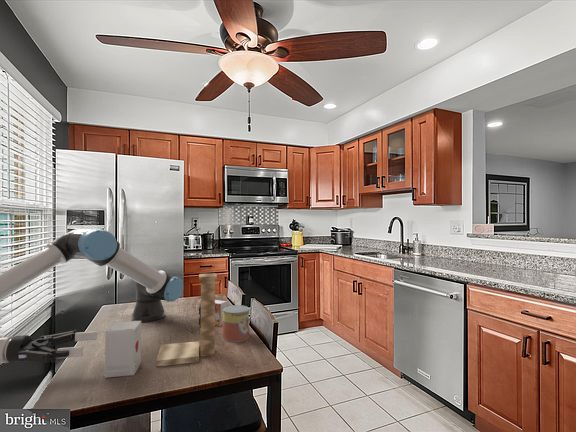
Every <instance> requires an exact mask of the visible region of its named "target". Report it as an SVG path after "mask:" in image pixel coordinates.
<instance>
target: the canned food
mask: <svg viewBox="0 0 576 432" xmlns="http://www.w3.org/2000/svg"><path fill="white" fill-rule="evenodd" d="M222 311H223V325H222V332H221V333H222V337H221V338H222V340H223V341H225V342H227V343H228V342H229V343H239V342H243V341H246V340H248V339H249V337H250V335H249V333H250V332H249V331H250V325H249V324H250V307H248V306H247V305H240V304H237V305H233V304H232V305H227V307H224V308H223V309H222Z"/></svg>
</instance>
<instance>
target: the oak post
mask: <svg viewBox="0 0 576 432" xmlns="http://www.w3.org/2000/svg"><path fill="white" fill-rule="evenodd" d="M198 280H199V281H200V304H199V307H198V315H199V317H198V326H199V329H200V353H199V357H208V356H215V353H216V352H215V350H216V349H215V347H216V344H215V341H216V340H215V337H216V336H215V335H216V333H215V332H216V329H215V328H216V327H215V326H216V325H215V300H216V280H218V274H217V273H215V272H213V273H212V272H211V273H199V274H198Z"/></svg>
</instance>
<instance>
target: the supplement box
mask: <svg viewBox="0 0 576 432" xmlns="http://www.w3.org/2000/svg"><path fill="white" fill-rule="evenodd" d="M104 335H105V338H104V340H105V343H104V345H105V346H104V347H105V348H104V378H114V377H115V378H118V377H129V376H135V374H136V372H137V371H138V369H139V367H140V365H141V361H142V360H141V359H142V358H141V357H142V355H141V354H142V322H141V321H133V320H132V321H114V322H113V323H112V324H110V326H109V327H108V328H107V329H106V330H105V334H104Z"/></svg>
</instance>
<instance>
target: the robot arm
mask: <svg viewBox="0 0 576 432" xmlns="http://www.w3.org/2000/svg"><path fill="white" fill-rule="evenodd" d="M77 258H81V259H84V260H87V261H89V262H92V263H93V264H96V265H97V266H99V267H105V266H107V267H109V268H111V269H113V270H115V271H116V272H117V273H120V274H121V275H123V276H124V277H125V276H126V277H127V278H129V279H130V280H132V281H134V282H135V306H134V308H133V311H132V313H131V320H132V321H141V323H143V322H144V323H145V322H153V321H158V320H160V319H163V318H164V317H165V310H164V306H163V304H162V301H166V302H168V303H169V302H175V301H177V300H178V299H179V298H180V297H181V295H182V294H183V290H184V283H183V280H182V279H181V278H180V277H178V276H172V275H171V274H169V273H168V272H166V271H164V270H162V269H160V270H157V269H155V268H154V267H152V266H150V265H149V264H147V263H145V262H144V261H143V260H141V259H139V258H137V257H136V256H135V255H133V254H131V253H130V252H128V251H126V250H125V249H123V248H122V247H121V243H120V242H119V241H118V240H117V239H116V237H115V236H114V234H113V233H111V232H110V231H108V230H105V229H102V228H77V229H73V230H70V231H68V232H66V233H64V234H63V235H61V236H58V237H57V238H56V239H53V240H52V241H50V242H48V243H47V244H46V248H44V249H42V250H41V251H38V252H37V253H35V254H33V255H31V256H29V258H26V259H25V260H22V261H21V262H20V263H18V264H16V265H15V266H12V267H11V268H9V269H7V270H5V271H4V272H2V273H1V274H0V301H2V300H3V299H5V298H7V297H9V296H10V295H12V294H13V293H15V292H16V291H18V290H19V289H21V288H23V287H24V286H26V285H28V284H29V283H31V282H32V281H34V280H35V279H38V278H39V277H41V275H43V274H45V273H47V272H49V271H50V270H52V269H54V267H56V266H58V265H59V264H62V265H65V264H66V263H68V262H69V261H71V260H73V259H77ZM96 340H98V331H97V330H95V331H93V330H92V331H83V332H80V331H79V332H77V329H74V330H70V331H65V332H59V333H55V334H50V335H49V334H48V335H41V336H40V337H39V338H37V339H34V340H33V339H32V336H30V335H28V334H26V335H23V334H22V335H14V336H13V335H12V336H11V335H9V336H0V365H2V364H7V363H20V362H21V363H22V362H25V361H27V362H37V363H44V364H48V363H56V361H57V359H66V358H67V359H68V358H69V359H70V358H78V357H79V358H80V357H82V356H83V354H84V353H83V352H84V346H81V345H80V346H72V347H71V346H69V347H60V348H59V347H58V348H57V349H53V347H56V346H59V345H62V344H66V343H70V342H83V341H84V342H86V341H96Z"/></svg>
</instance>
